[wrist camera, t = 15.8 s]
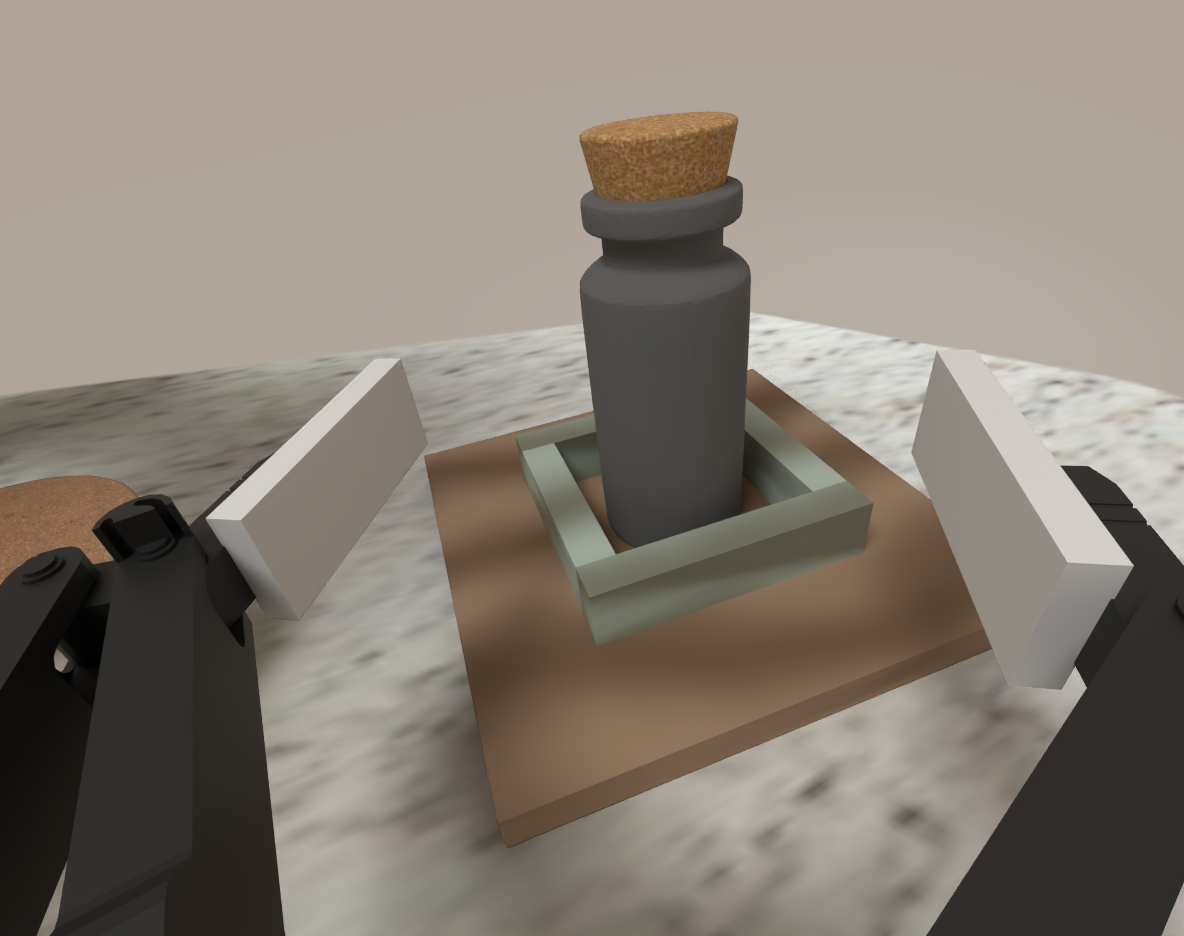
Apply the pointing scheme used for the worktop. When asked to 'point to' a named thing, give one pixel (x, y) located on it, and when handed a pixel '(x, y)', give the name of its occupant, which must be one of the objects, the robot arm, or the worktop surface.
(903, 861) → the worktop surface
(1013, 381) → the worktop surface
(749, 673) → the socket board
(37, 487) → the lidded jar
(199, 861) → the robot arm
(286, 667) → the worktop surface
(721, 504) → the bottle
